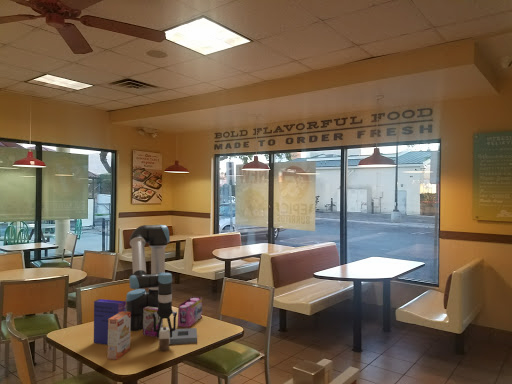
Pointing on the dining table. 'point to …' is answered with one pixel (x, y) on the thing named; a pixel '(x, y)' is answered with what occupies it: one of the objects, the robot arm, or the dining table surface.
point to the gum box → (189, 311)
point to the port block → (184, 336)
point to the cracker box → (119, 335)
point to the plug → (164, 333)
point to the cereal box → (105, 317)
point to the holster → (163, 344)
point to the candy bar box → (150, 321)
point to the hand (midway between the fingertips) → (164, 343)
